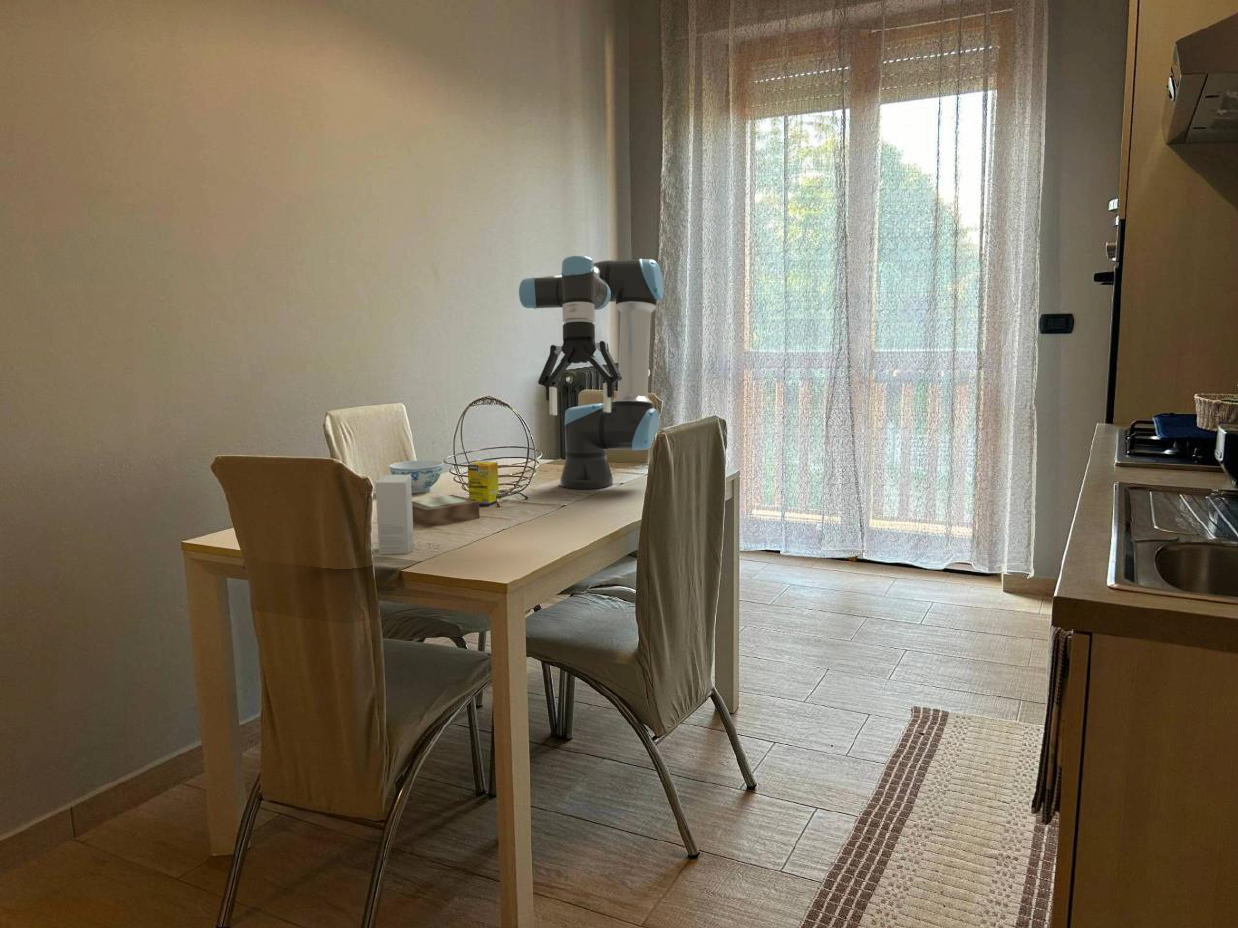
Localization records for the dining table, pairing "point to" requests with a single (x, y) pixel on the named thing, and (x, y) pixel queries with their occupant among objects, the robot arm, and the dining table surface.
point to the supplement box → (483, 482)
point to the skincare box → (394, 514)
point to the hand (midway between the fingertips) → (580, 413)
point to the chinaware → (419, 473)
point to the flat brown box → (444, 510)
